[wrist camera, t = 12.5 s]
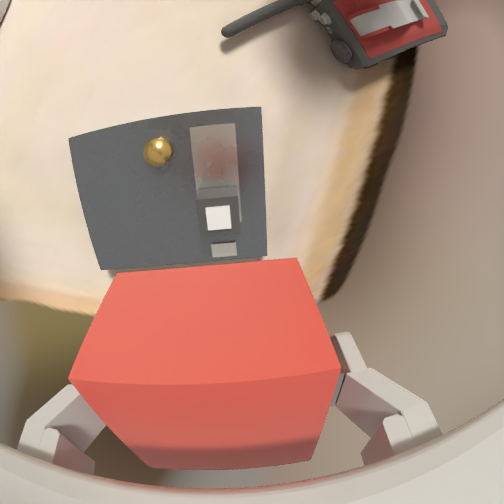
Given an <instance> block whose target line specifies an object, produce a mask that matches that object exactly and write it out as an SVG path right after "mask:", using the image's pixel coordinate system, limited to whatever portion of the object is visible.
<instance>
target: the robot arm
mask: <svg viewBox="0 0 504 504" xmlns="http://www.w3.org/2000/svg"><path fill="white" fill-rule="evenodd" d="M9 1H10V0H0V22H1V20H2V18H3V16H4V14H5V11H6V9H7V7H8V4H9ZM329 337H330V340H331V342H332V345H333V347H334V350H335V352H336V355H337V357H338V360H339V363H340V365H341V371H340V374H339V378H338V381H337V385H336V388H335V391H334V395H333V398H332V401H331V404H330V406H334V405H336V407H337V408H338V409H339V410H340V411H341V412H342V413H343V414H345V415H346V416H347V417H348V418H349V419H350V420H351V421H352V422H354V423H355V424H356V425H357V426H358V427H359V428H360V429H361V430H363V431H364V432H365V433H366V434H367V435H368V436H370V437H371V439H370V441H369V442H368V443H367V445H366V446H365V447H364V449H363V450H362V452H361V456H362V459H363V462H364V466H362V467H358V468H355V469H351V470H347V471H344V472H340V473H336V474H331V475H328V476H323V477H318V478H313V479H308V480H302V481H296V482H290V483H284V484H276V485H267V486H257V487H244V488H222V489H196V488H195V489H194V488H174V487H162V486H153V485H144V484H137V483H130V482H124V481H118V480H113V479H108V478H103V477H99V476H94V468H95V462H94V461H93V460H92V459H91V458H90V457H89V456H87V455H86V454H85V453H84V451H85V450H86V449H87V448H88V447H89V445H90V444H91V443H92V442H93V441H94V439H95V438H96V437H97V435H98V434H99V433H100V432H101V431H102V430H103V428H104V427H105V426H106V424H105V423H104V422H103V421H102V420H101V418H100V417H99V416H98V415H97V414H96V413H95V412H94V410H93V409H92V408H91V407H90V406H89V404H88V403H87V402H86V401H85V400H84V398H83V397H82V396H81V395H80V393H79V392H78V391H77V390H76V388H75V387H74V386H73V384H72V385H67V386H66V387H65V388H64V389H63V390H61V391H60V392H59V393H58V394H56V395H55V396H54V397H53V398H52V399H51V400H49V401H48V402H47V403H46V404H45V405H44V406H43V407H41V408H40V409H39V410H38V411H37V412H36V413H34V414H33V415H32V416H31V417H30V418H29V419H27V421H26V424H25V427H24V429H23V432H22V435H21V438H20V441H19V445H18V448H17V450H15V449H13V448H11V447H9V446H7V445H4V444H2V443H0V504H504V399H503V400H501V401H500V402H498V403H497V404H495V405H494V406H492V407H491V408H489V409H487V410H486V411H484V412H483V413H481V414H479V415H478V416H476V417H474V418H473V419H471V420H469V421H468V422H466V423H464V424H462V425H460V426H458V427H457V428H455V429H453V430H451V431H449V432H447V433H445V434H443V435H442V433H441V431H440V429H439V426H438V424H437V422H436V420H435V418H434V416H433V414H432V412H431V410H430V408H429V406H428V404H427V402H425V401H424V400H422V399H421V398H419V397H417V396H416V395H414V394H412V393H411V392H409V391H408V390H406V389H404V388H403V387H401V386H399V385H398V384H396V383H395V382H393V381H392V380H390V379H388V378H387V377H385V376H384V375H382V374H380V373H379V372H377V371H376V370H374V369H373V368H367V367H366V365H365V363H364V361H363V358H362V356H361V354H360V352H359V350H358V348H357V346H356V344H355V342H354V340H353V338H352V336H351V334H350V333H349V332H343V333H338V334H333V335H332V334H331V335H329Z"/></svg>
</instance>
